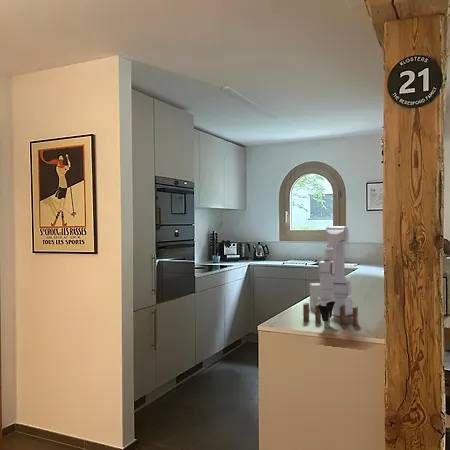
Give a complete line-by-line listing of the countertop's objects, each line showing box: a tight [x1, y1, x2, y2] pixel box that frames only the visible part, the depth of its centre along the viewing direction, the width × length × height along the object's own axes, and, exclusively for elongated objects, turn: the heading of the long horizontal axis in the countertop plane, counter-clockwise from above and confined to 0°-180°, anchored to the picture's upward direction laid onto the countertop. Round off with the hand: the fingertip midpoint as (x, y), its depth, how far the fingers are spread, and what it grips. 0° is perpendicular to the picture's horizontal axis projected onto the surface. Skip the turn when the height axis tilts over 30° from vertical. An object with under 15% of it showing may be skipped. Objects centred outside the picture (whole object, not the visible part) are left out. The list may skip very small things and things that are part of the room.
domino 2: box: [314, 303, 322, 324], centre depth 214 cm, size 2×5×8 cm, turn 157°
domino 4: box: [339, 305, 346, 326], centre depth 209 cm, size 2×5×8 cm, turn 157°
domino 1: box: [302, 302, 310, 323], centre depth 216 cm, size 2×5×8 cm, turn 157°
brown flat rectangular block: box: [352, 305, 359, 327], centre depth 207 cm, size 2×5×8 cm, turn 157°
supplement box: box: [309, 282, 321, 310], centre depth 245 cm, size 7×7×13 cm
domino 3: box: [323, 312, 331, 329], centre depth 204 cm, size 2×5×8 cm, turn 157°
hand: (326, 319), depth 204 cm, fingers open, 7 cm apart
